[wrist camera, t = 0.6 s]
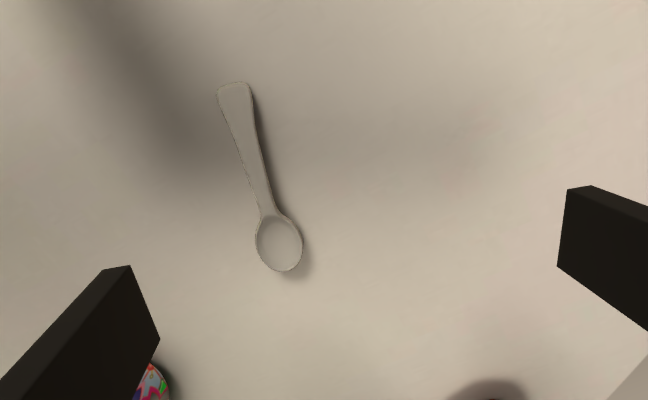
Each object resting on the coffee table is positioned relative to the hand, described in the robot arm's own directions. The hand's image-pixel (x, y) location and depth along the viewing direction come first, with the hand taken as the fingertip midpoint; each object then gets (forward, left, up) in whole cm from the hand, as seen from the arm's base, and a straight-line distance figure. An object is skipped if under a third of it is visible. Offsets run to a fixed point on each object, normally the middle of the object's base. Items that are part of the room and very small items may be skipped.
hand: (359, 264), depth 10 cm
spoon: (0, -4, -12) cm, 12 cm away
